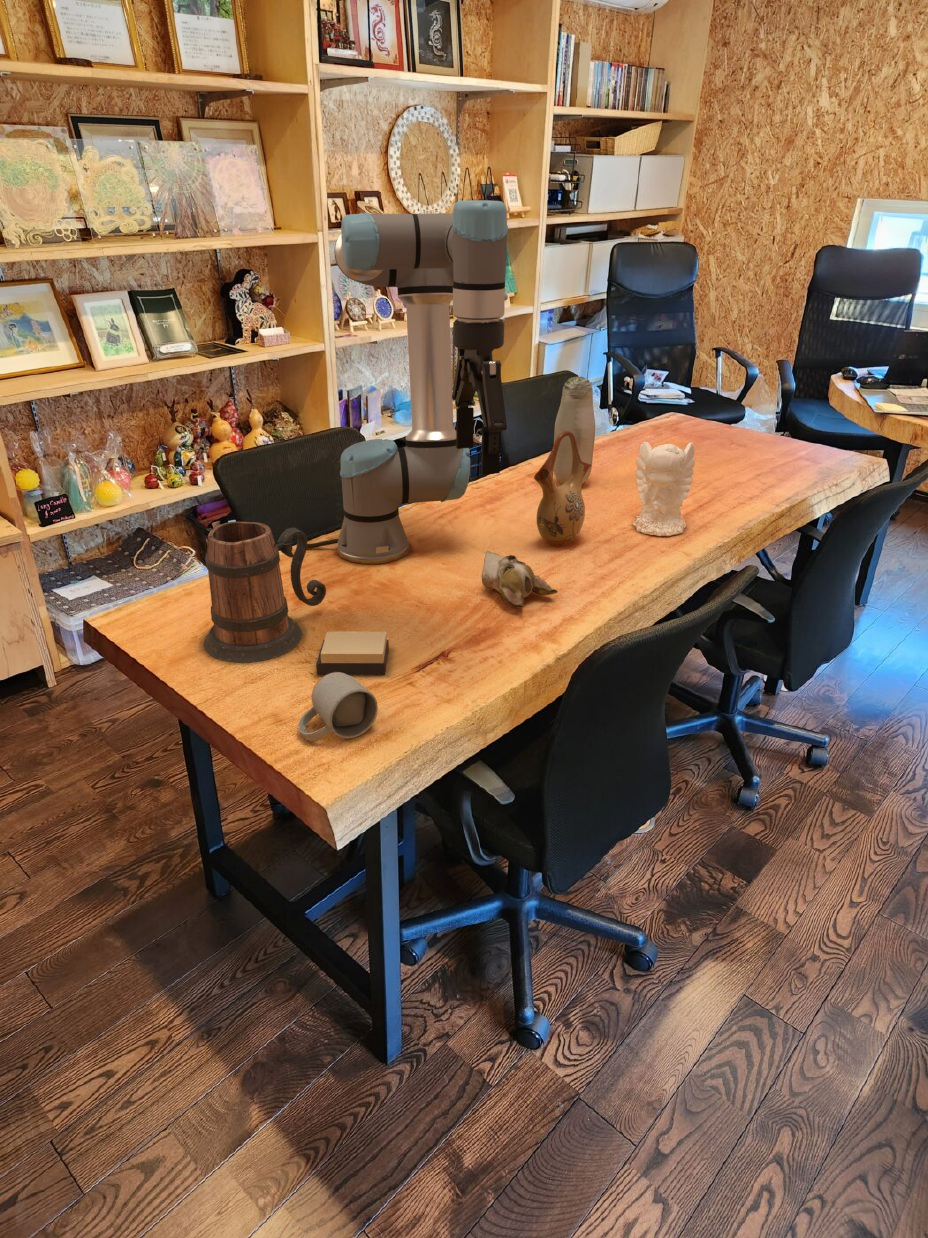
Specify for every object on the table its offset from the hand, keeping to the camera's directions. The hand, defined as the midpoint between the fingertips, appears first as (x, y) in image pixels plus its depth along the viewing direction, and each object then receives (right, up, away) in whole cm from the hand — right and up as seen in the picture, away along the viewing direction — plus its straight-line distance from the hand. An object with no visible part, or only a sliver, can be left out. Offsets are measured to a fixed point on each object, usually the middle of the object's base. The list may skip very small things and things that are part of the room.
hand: (477, 460), depth 131 cm
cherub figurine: (+43, -4, +61) cm, 74 cm away
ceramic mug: (-21, -41, -10) cm, 47 cm away
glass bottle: (+26, +10, +88) cm, 92 cm away
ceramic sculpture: (+7, -21, +29) cm, 36 cm away
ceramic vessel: (+19, -8, +53) cm, 57 cm away
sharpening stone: (-20, -32, +7) cm, 39 cm away
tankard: (-37, -28, +16) cm, 48 cm away
